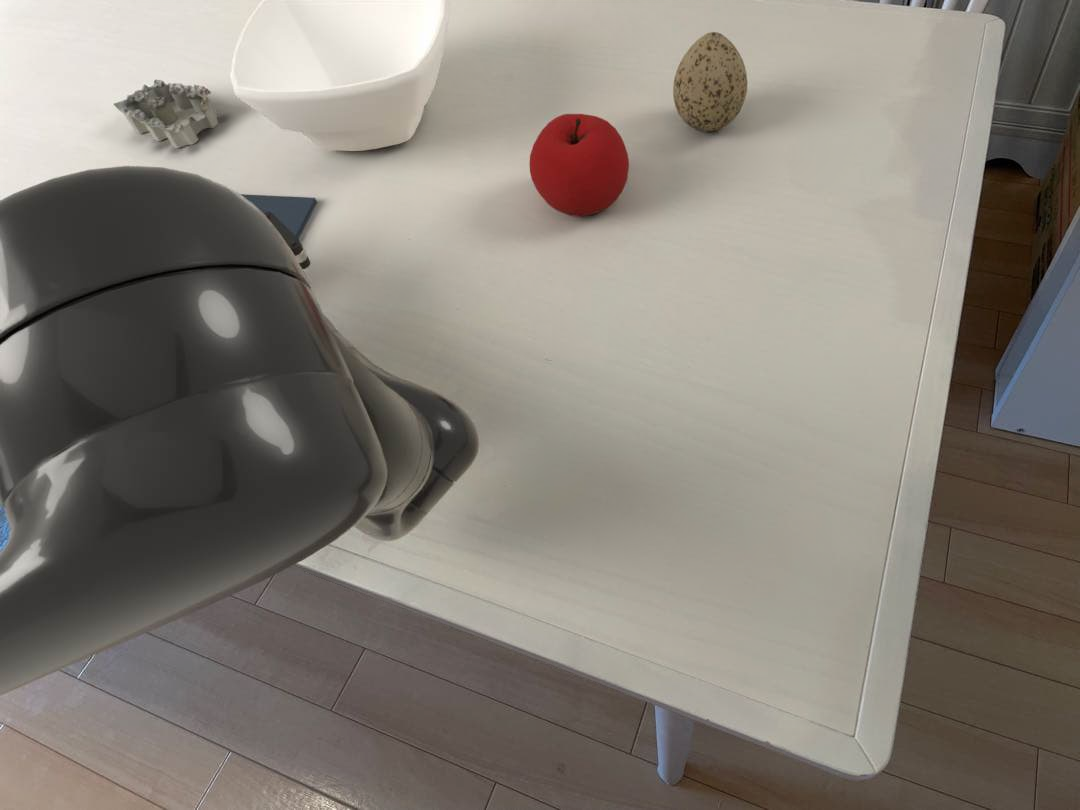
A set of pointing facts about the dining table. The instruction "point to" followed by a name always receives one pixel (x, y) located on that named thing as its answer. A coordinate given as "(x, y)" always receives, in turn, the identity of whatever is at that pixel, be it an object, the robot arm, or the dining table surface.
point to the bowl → (342, 67)
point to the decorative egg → (710, 83)
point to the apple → (579, 164)
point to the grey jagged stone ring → (170, 112)
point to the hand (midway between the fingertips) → (179, 242)
